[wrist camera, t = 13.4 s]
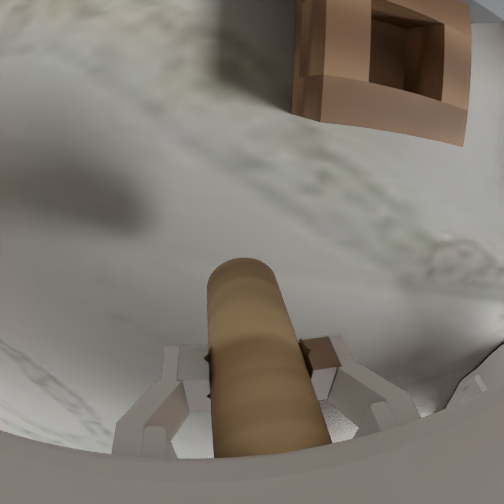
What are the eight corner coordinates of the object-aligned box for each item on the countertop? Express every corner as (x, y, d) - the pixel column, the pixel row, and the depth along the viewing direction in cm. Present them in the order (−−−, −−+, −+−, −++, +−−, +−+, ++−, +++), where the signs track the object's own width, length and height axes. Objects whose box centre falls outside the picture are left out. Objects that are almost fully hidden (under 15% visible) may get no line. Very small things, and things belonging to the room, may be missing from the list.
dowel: (274, 313, 15) (331, 510, 6) (209, 316, 15) (223, 526, 6) (278, 256, 14) (365, 477, 5) (205, 259, 13) (214, 501, 5)
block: (414, 130, 18) (462, 146, 14) (291, 113, 17) (320, 122, 12) (421, 14, 14) (469, 6, 9) (297, -22, 12) (326, -52, 8)
